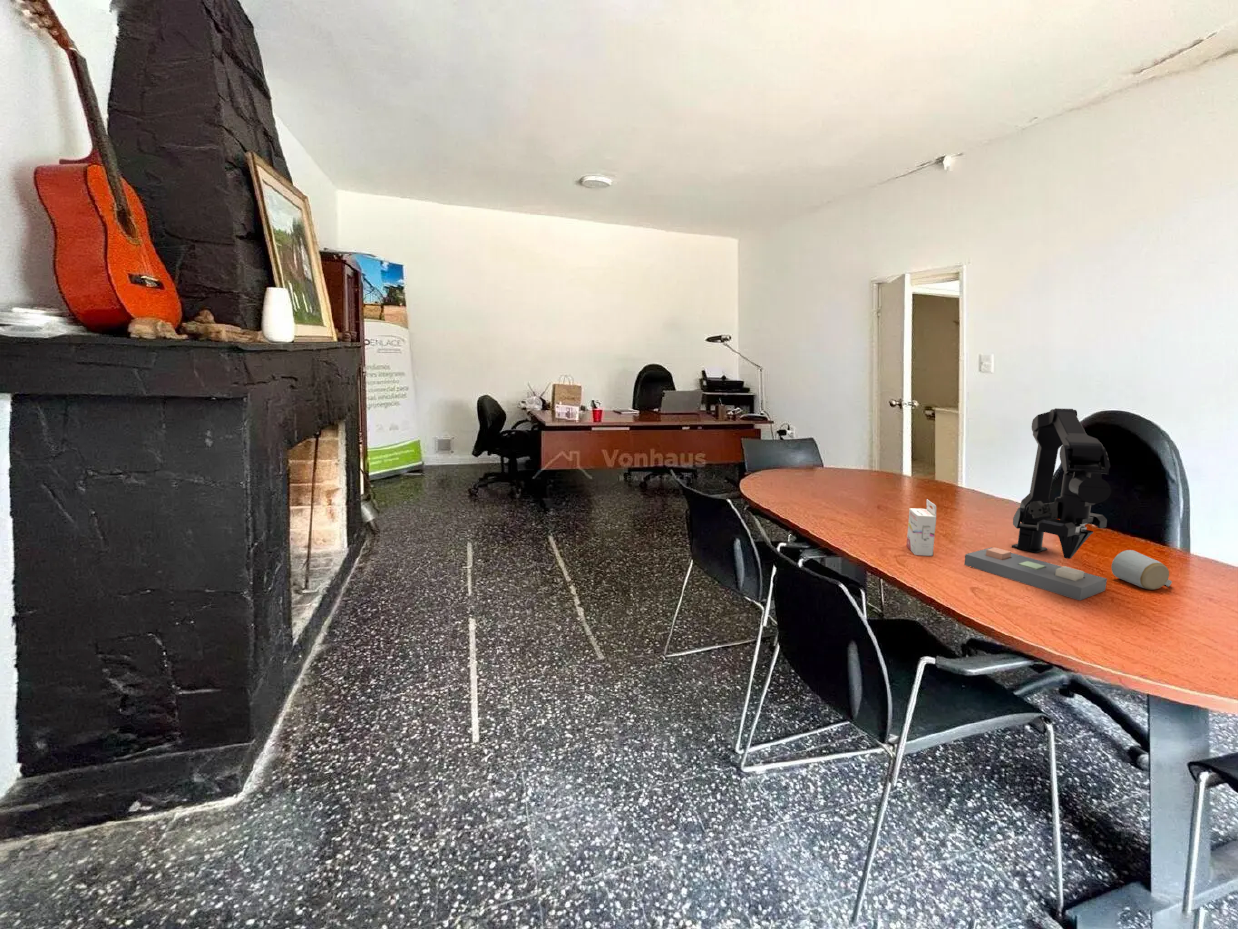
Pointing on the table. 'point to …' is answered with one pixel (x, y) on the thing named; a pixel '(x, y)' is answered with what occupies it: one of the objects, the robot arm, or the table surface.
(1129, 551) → the ceramic mug
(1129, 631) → the table surface
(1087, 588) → the console
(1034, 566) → the sage button
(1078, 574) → the cream button
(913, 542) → the ink cartridge box
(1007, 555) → the terracotta button
